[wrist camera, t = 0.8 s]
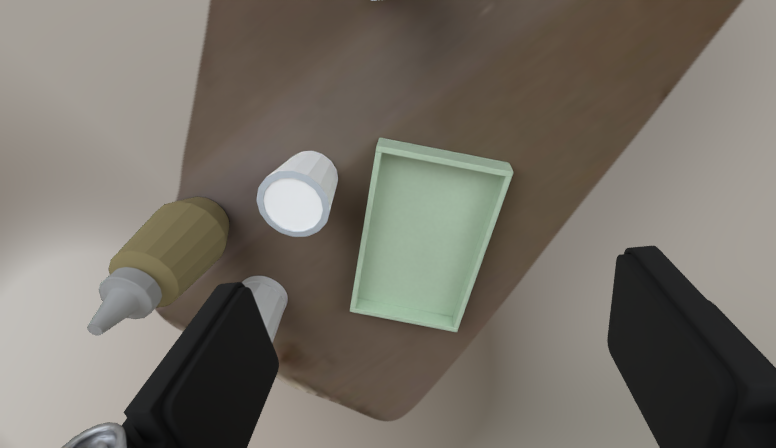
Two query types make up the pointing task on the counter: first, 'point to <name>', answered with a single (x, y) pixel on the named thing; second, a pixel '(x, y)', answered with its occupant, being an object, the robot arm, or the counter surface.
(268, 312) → the cup
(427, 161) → the tray
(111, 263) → the squeeze bottle
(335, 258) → the counter surface
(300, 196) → the white tapered cup
